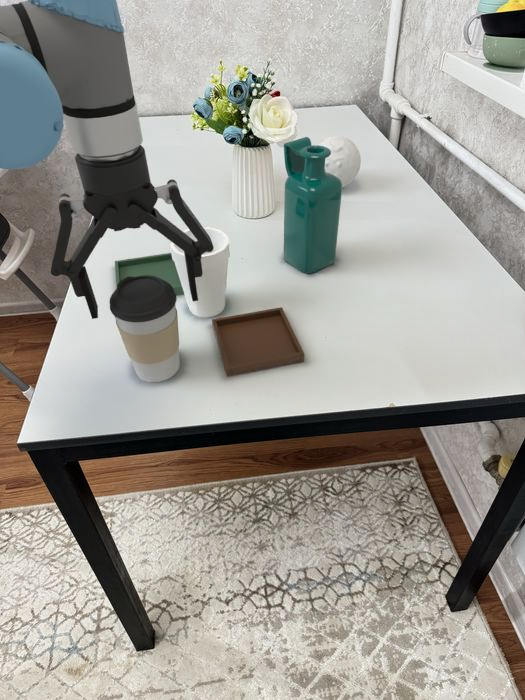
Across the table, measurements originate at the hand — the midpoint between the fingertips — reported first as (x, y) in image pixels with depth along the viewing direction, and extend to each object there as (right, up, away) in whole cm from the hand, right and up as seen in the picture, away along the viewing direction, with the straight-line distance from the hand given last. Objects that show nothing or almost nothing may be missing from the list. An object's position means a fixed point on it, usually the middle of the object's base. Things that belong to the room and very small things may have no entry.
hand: (145, 304), depth 68 cm
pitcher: (+25, +12, +30) cm, 41 cm away
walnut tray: (+15, -5, +12) cm, 20 cm away
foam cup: (+6, +1, +19) cm, 20 cm away
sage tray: (-5, +7, +25) cm, 27 cm away
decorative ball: (+34, +34, +55) cm, 73 cm away
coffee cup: (0, -9, +8) cm, 12 cm away
